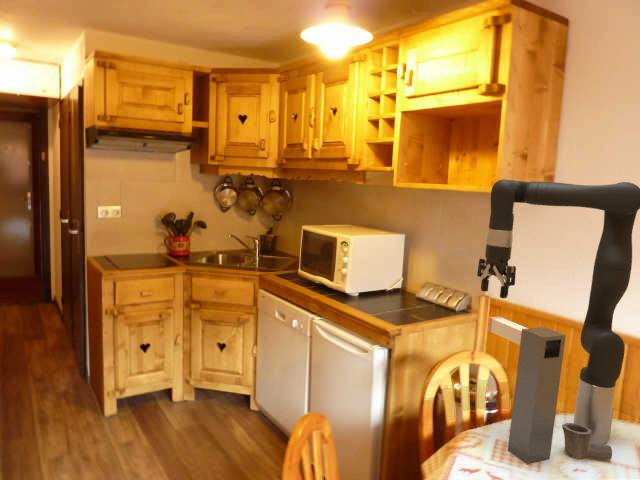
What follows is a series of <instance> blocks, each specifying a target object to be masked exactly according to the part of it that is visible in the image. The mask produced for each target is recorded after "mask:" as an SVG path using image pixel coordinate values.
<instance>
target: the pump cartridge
mask: <svg viewBox="0 0 640 480" xmlns="http://www.w3.org/2000/svg"><path fill="white" fill-rule="evenodd" d="M527 328H528V327H525V326H523V325H520V324H518V323H516V322H514V321H511V320H509V319H506V318H504V317H503V316H489V317H488V325H487V332H488V333H492V334H494V335H497V336H499V337H501V338H503V339H506V340H508V341H510V342H512V343H514V344H517V345H518V346H520V342H521V333H522V329H527Z"/></svg>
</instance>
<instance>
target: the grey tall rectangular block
mask: <svg viewBox="0 0 640 480" xmlns="http://www.w3.org/2000/svg"><path fill="white" fill-rule="evenodd" d="M526 328H527V329H522V333H521V342H520V345H519V350H518V351H519V352H518V360H517V370H516V376H515V377H516V378H515V384H514V385H515V387H514V396H513V402H512V412H511V420H510V429H509V437H508V446H507V451H508V452H510V453H511V454H512V455H513V456H515V457H516V458H517V459H519V460H521V461H522V463H525V464H526V465H530V464H534V463H540V462H545V461H549V460H550V459H551V452H552V451H551V450H552V445H553V438H554V437H553V436H554V430H555V420H556V414H557V413H556V412H557V406H558V398H559V392H560V391H559V389H560V383H561V376H562V375H561V373H562V366H563V361H564V360H563V358H564V351H565V344H566V334H563V333H561V332H559V331H555V330H553V329H551V328H548V327H545V326H543V327H542V326H541V327H526Z"/></svg>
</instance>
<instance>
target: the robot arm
mask: <svg viewBox="0 0 640 480" xmlns="http://www.w3.org/2000/svg"><path fill="white" fill-rule="evenodd" d="M516 203H518V204H520V203H521V204H528V205H534V206H547V207H571V208H572V207H573V208H574V207H577V208H579V207H580V208H589V209H594V210H595V209H596V210H599V211H600V210H601V211H603V212H604V213H603V228H602V232H601V236H600V239H599V244H598V248H597V250H596V254H595V255H596V256H595V258H594V263H593V270H592V277H591V287H590V291H589V299H588V306H587V310H586V314H585V318H584V322H583V326H582V330H581V334H580V337H579V339H580V343H581V344H580V345H581V347H582V348H583V350H584V351H585V352H586V353H587V354H588V355H589V356H588V357H589V358H588V361H587V366H583V367H582V368H581V369H580V372H579V379H578V386H577V396H576V401H575V411H574V415H573V416H574V417H573V423H575V424H580V425H582V426H585V427H587V428H588V429H590V430H591V435H590V439H589V443H592V444H605V445H606V443H607V442H608V440H610V437H611V432H612V425H613V424H612V423H613V416H614V407H613V403H614V397H615V391H616V383H617V380H618V379H619V378H620V376H621V372H622V368H623V367H622V366H623V362H624V358H625V353H626V352H625V350H626V349H625V347H626V346H625V341H624V339H623V338H622V337H621V335H619V334H617V333H616V332H614V331H613V319H614V313H615V310H616V307H617V306H618V304H619V302H620V301H621V300H622V298H623V296H624V295H625V293H626V291H627V290H628V287H629V284H630V279H631V274H632V273H631V272H632V266H633V265H632V264H633V229H634V225H635V221H636V217H637V213H638V211H639V210H640V186H638V185H637V184H635V183H632V182H628V181H621V182H617V183H613V184H603V185H602V184H601V185H598V184H597V185H591V184H589V185H586V184H585V185H584V184H573V183H567V182H566V183H564V182H553V181H538V180H537V181H536V180H535V181H522V180H512V179H499V180H497V181H496V182H494V184H493V185H492V187H491V191H490V214H489V215H490V216H489V223H488V231H487V236H486V243H485V245H486V246H485V253H484V256H485V258H479V259H478V266H477V273H476V275H477V277H479V278H480V281H481V283H480V284H481V285H480V291H481V292H488V291H489V285H490V284H489V283H490V278H491V276H494V277H496V278H497V280H498V281H499V282H500V285H501V286H500V289H499V290H500V291H499V298H500V299H507V298H508V296H509V288H510V287H511V286H512V287H513V286H515V284H516V275H517V274H516V272H517V267H516V266H515V265H509V263H508V262H509V260H510V261H511V258H512V256H511V255H512V247H513V241H514V240H513V239H514V238H513V236H514V235H513V229H514V220H515V215H514V205H515V204H516Z"/></svg>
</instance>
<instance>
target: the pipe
mask: <svg viewBox="0 0 640 480" xmlns="http://www.w3.org/2000/svg"><path fill="white" fill-rule="evenodd" d="M561 427H562V428H561V429H562V430H563V435H564V453H565V454H567V455H568V456H570V457H571V458H577V459H583V458H585V457H587V458H592V459H603V460H611V459H612V458H613V449H612V446H611V445H609V444H606V443H605V444H593V443H589V439H590V435H591V430H590V429H588V428H587V427H585V426H582V425H580V424H575V423H574V422H565V423H562V425H561Z"/></svg>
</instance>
